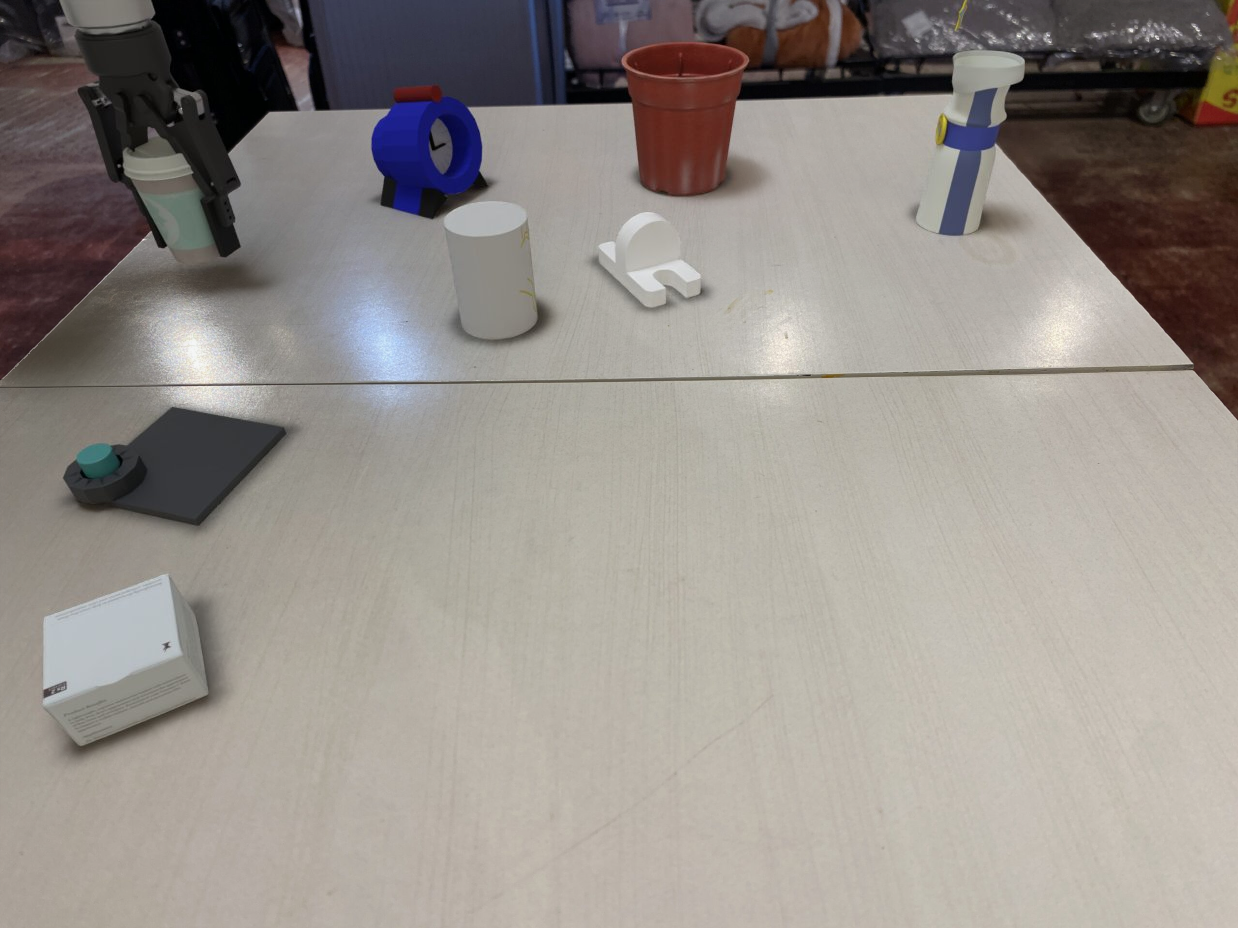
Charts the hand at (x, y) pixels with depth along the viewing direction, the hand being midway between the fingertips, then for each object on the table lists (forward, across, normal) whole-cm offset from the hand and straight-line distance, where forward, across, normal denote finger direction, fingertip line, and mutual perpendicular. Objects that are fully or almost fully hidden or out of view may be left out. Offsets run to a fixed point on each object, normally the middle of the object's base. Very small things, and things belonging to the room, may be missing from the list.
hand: (199, 247), depth 92 cm
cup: (+5, -36, 0) cm, 37 cm away
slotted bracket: (+4, -49, -13) cm, 51 cm away
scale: (+5, -19, +29) cm, 35 cm away
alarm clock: (+5, -13, -30) cm, 33 cm away
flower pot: (+4, -46, -43) cm, 64 cm away
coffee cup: (+1, 0, 0) cm, 1 cm away
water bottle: (+4, -82, -37) cm, 90 cm away
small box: (+5, -31, +48) cm, 57 cm away
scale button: (+2, -15, +33) cm, 36 cm away
